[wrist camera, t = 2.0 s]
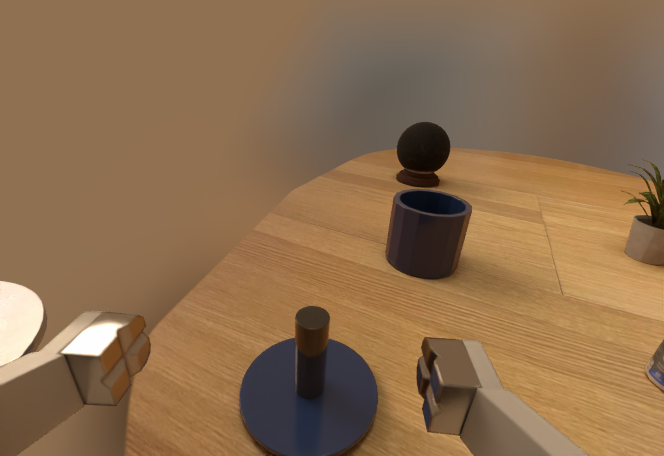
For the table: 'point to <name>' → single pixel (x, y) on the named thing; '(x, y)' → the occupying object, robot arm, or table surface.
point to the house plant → (648, 226)
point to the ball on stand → (422, 154)
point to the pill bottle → (657, 367)
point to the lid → (308, 392)
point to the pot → (427, 232)
